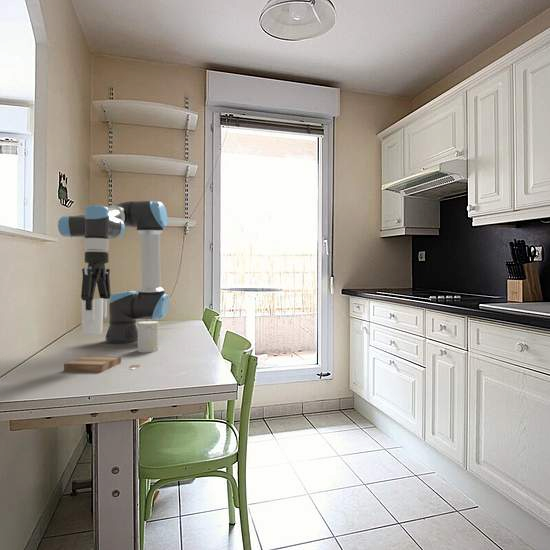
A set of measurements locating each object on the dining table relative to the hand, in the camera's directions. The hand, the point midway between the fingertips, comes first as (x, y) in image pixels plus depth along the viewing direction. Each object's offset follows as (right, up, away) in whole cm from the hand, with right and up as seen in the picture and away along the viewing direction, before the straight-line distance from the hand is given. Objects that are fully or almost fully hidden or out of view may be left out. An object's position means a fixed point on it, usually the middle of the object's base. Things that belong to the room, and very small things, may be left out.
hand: (96, 318), depth 141 cm
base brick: (-1, -17, 0) cm, 17 cm away
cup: (+9, -17, +29) cm, 35 cm away
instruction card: (+13, -17, -1) cm, 21 cm away
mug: (-2, -5, +1) cm, 6 cm away
